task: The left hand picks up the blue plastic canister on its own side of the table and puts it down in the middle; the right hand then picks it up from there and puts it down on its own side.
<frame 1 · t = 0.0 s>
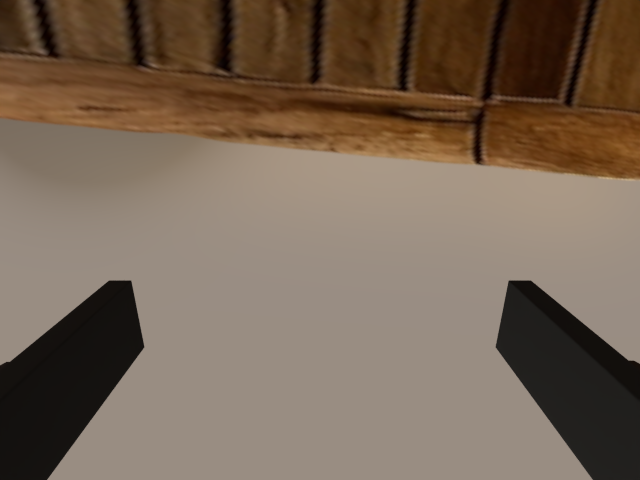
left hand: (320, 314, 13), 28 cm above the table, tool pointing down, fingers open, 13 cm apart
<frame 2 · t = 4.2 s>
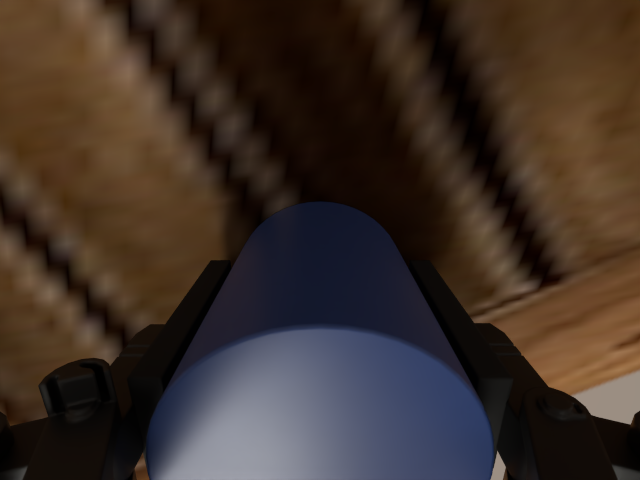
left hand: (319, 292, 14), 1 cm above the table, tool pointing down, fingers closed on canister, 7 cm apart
canister: (320, 281, 15), on the table, touching left hand
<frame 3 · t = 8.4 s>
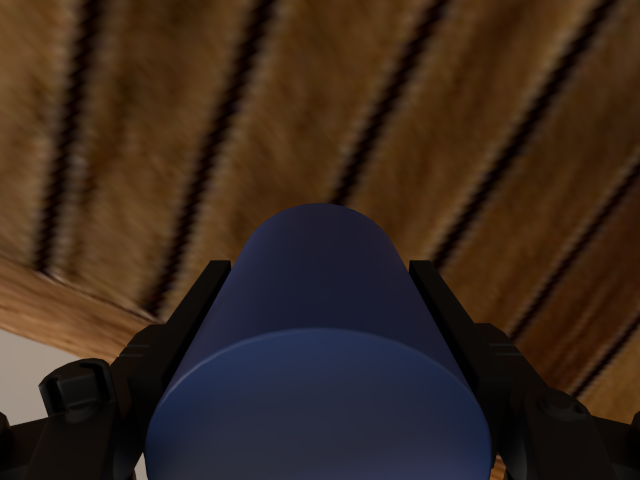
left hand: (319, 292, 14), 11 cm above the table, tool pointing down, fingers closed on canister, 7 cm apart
canister: (319, 282, 15), point 10 cm above the table, touching left hand
when the left hand's fingers open (3 cm above the table, at t = 12.7 s): canister drops 2 cm, on the table.
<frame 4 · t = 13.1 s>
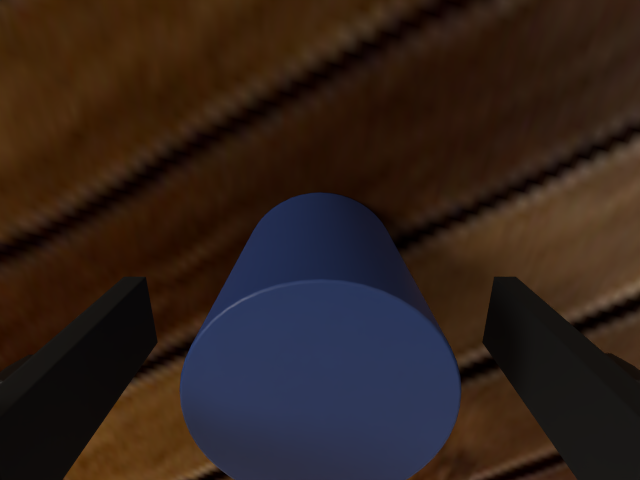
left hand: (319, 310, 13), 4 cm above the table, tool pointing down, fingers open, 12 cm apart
canister: (320, 265, 17), on the table
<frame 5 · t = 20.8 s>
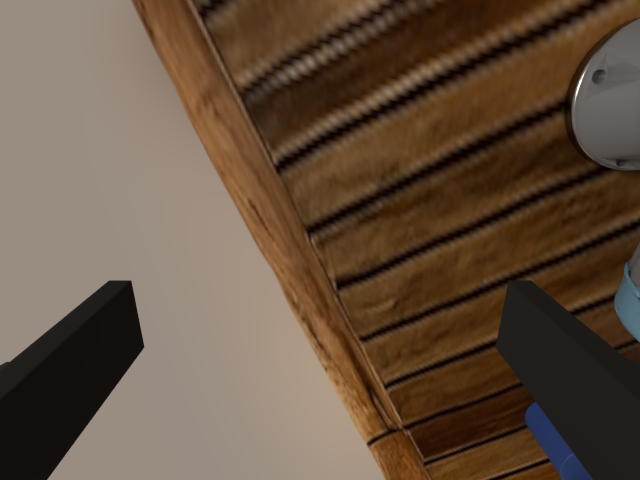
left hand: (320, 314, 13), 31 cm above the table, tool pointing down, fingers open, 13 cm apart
canister: (548, 414, 54), on the table, touching right hand
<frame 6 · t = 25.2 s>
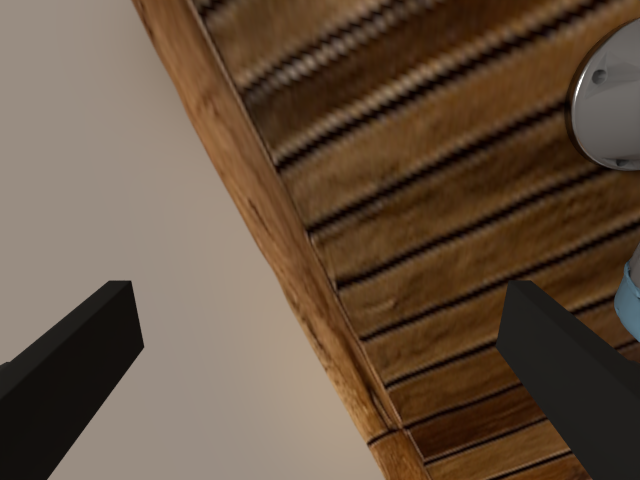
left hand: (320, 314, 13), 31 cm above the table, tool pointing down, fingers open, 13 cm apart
when the right hand's fingers open (3 cm above the table, at t = 30.0 s): canister drops 2 cm, on the table.
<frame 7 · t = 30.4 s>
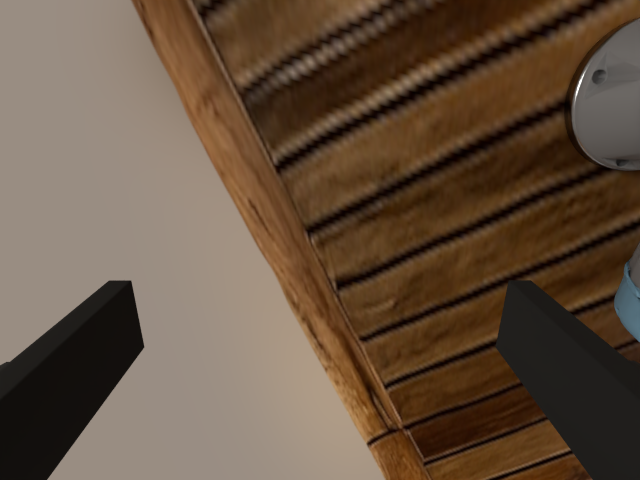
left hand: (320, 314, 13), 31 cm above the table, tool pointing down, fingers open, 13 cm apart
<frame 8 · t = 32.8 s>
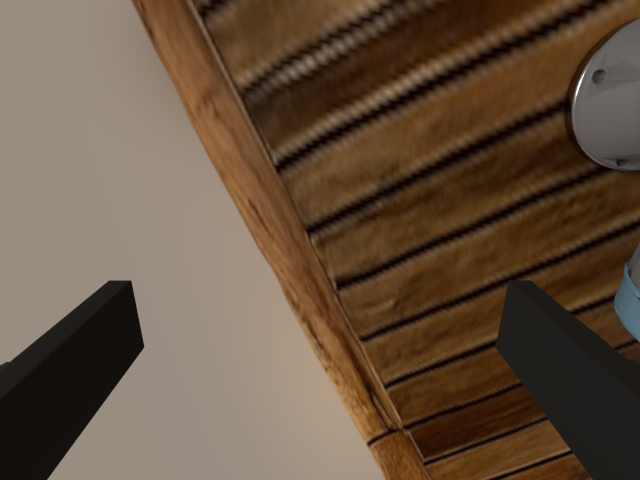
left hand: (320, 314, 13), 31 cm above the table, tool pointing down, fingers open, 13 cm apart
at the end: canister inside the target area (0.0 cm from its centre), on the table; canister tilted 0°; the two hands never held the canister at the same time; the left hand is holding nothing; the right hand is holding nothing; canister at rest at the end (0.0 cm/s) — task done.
